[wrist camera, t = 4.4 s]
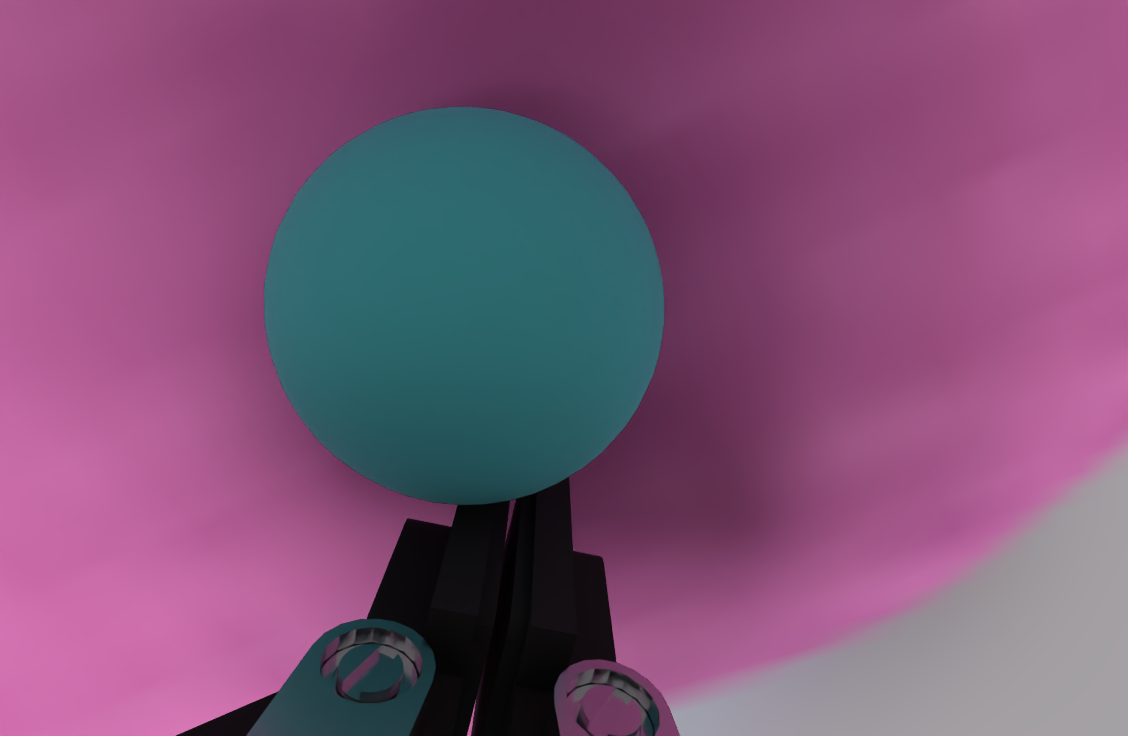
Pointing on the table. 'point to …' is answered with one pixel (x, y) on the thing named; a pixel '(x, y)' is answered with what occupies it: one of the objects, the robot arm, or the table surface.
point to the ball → (464, 305)
